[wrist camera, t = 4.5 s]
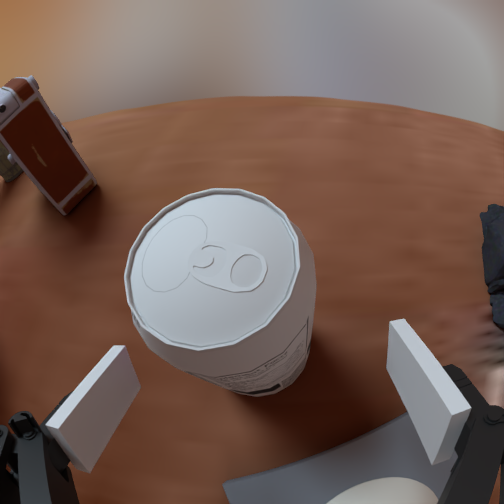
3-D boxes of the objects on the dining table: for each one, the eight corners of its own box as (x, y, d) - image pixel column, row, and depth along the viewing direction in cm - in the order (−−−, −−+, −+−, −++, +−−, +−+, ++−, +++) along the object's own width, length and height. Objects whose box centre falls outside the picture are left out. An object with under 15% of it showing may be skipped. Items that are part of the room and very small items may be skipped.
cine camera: (65, 149, 47) (15, 69, 30) (108, 181, 38) (37, 66, 21) (31, 183, 44) (-27, 107, 27) (62, 227, 35) (-26, 122, 18)
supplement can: (196, 376, 23) (82, 319, 11) (232, 291, 27) (169, 168, 14) (289, 410, 21) (272, 404, 8) (321, 315, 25) (337, 195, 12)
